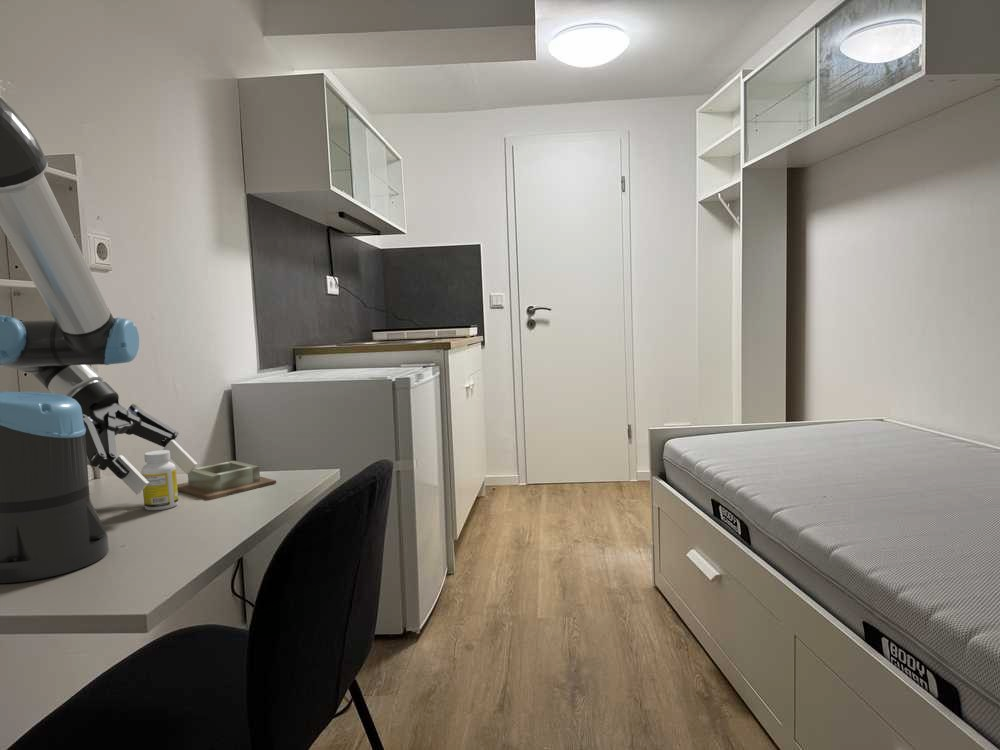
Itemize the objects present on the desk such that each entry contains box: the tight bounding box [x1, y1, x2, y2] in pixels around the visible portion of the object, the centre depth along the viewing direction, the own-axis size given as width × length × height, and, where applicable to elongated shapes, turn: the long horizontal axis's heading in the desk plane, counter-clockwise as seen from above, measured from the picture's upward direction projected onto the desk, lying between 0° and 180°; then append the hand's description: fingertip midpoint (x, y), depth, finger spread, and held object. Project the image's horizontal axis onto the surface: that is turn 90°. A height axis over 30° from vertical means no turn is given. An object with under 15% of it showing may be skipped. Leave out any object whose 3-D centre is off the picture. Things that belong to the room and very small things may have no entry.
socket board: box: [177, 460, 277, 501], centre depth 129 cm, size 14×14×4 cm
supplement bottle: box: [140, 449, 179, 511], centre depth 116 cm, size 5×5×10 cm
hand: (169, 478), depth 116 cm, fingers open, 13 cm apart
